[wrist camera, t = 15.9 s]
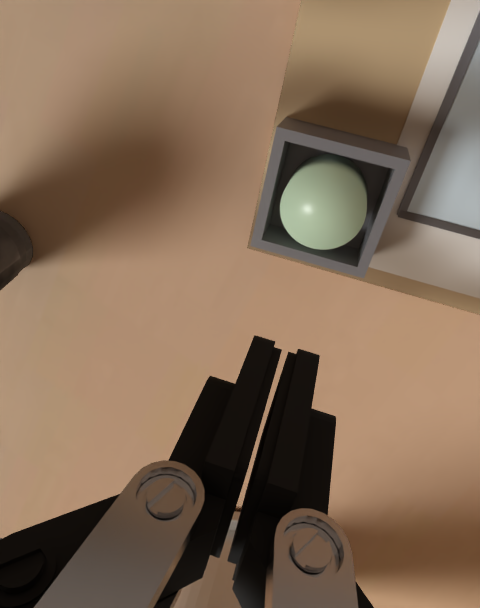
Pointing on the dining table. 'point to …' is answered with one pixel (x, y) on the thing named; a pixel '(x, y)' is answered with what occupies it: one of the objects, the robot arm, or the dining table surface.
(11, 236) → the beverage cup
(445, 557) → the dining table surface
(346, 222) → the button
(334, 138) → the button housing
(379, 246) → the clipboard
